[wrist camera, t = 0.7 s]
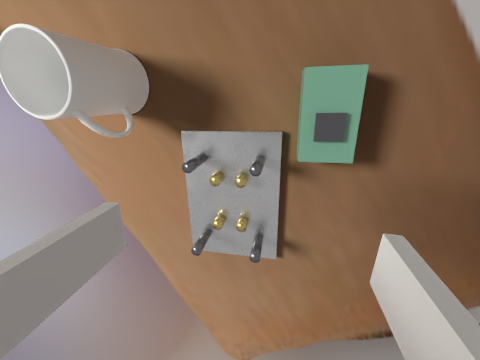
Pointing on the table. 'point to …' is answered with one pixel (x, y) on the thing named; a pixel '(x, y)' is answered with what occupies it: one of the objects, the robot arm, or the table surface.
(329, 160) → the board
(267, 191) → the chassis
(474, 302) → the table surface
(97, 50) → the mug
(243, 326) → the table surface
